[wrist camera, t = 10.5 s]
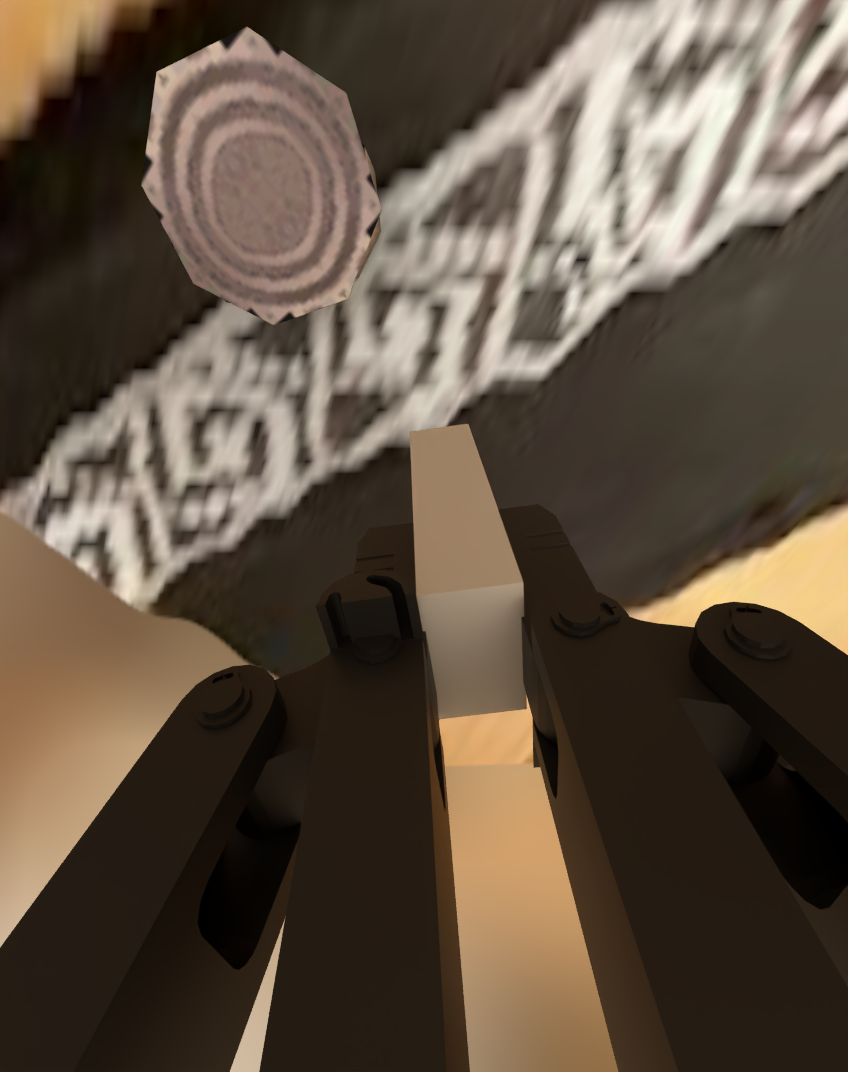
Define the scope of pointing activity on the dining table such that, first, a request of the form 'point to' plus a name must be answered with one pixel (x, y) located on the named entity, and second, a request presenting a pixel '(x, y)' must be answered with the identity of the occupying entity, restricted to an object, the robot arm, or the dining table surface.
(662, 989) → the robot arm
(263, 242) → the can
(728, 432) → the dining table surface
